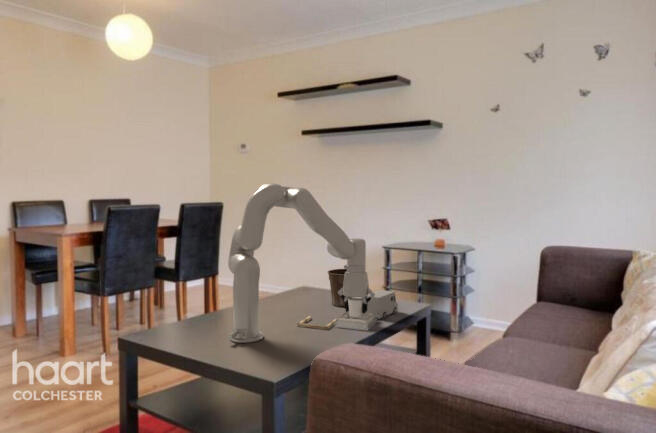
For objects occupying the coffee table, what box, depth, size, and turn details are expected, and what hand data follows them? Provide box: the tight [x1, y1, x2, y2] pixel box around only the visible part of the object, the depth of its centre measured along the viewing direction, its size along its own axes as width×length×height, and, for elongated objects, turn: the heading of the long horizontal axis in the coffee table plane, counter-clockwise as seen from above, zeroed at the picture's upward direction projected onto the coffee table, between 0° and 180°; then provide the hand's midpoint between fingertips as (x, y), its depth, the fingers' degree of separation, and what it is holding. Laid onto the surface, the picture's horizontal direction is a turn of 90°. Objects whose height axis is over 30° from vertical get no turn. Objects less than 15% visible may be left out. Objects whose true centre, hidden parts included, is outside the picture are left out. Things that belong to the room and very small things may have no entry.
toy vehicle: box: [365, 289, 399, 320], centre depth 214 cm, size 9×18×10 cm, turn 144°
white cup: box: [348, 297, 363, 317], centre depth 199 cm, size 7×7×7 cm
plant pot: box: [327, 268, 347, 308], centre depth 233 cm, size 16×16×16 cm
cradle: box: [296, 315, 338, 331], centre depth 200 cm, size 12×13×1 cm
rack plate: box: [334, 311, 378, 332], centre depth 200 cm, size 14×14×4 cm
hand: (356, 311), depth 199 cm, fingers closed on white cup, 6 cm apart
